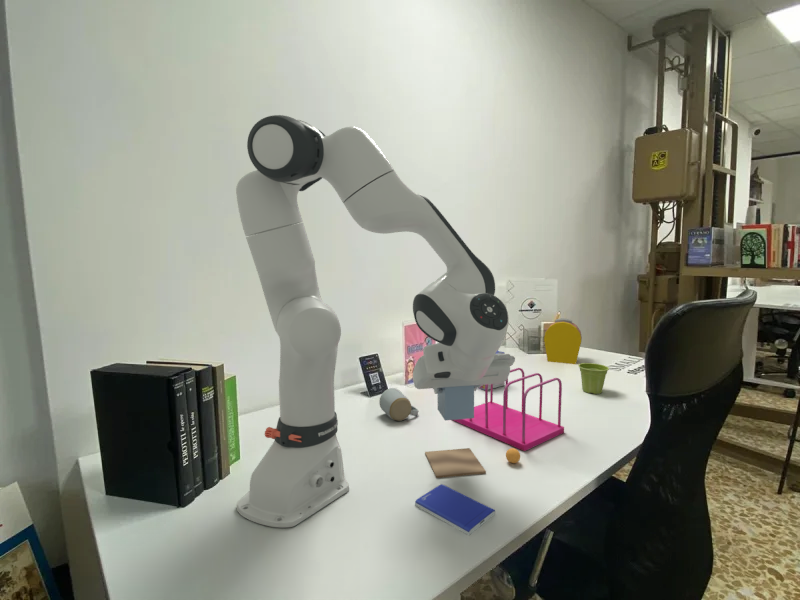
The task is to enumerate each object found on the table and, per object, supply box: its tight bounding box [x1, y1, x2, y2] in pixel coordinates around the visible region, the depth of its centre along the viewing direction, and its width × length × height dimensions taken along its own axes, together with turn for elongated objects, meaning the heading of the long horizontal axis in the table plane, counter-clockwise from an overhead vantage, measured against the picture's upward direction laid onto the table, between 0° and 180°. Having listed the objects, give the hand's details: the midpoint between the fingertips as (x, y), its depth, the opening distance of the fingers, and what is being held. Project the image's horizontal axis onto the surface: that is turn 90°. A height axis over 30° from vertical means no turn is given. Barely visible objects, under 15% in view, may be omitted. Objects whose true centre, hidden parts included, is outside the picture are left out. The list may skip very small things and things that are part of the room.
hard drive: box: [414, 483, 496, 536], centre depth 79 cm, size 2×8×12 cm
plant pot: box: [578, 362, 610, 395], centre depth 144 cm, size 9×9×9 cm
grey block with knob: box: [437, 385, 475, 421], centre depth 94 cm, size 6×6×10 cm
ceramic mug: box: [378, 387, 419, 422], centre depth 123 cm, size 11×8×8 cm
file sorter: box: [453, 367, 565, 452], centre depth 115 cm, size 17×25×16 cm
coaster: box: [424, 447, 487, 479], centre depth 96 cm, size 11×11×1 cm
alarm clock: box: [543, 318, 582, 365], centre depth 184 cm, size 15×8×18 cm, turn 66°
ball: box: [505, 447, 521, 464], centre depth 96 cm, size 3×3×3 cm
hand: (454, 389), depth 95 cm, fingers closed on grey block with knob, 6 cm apart
